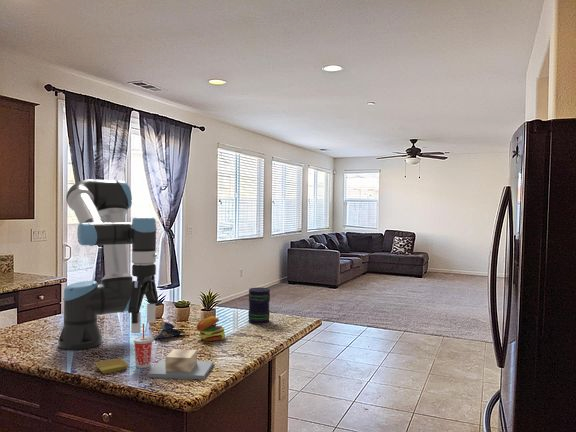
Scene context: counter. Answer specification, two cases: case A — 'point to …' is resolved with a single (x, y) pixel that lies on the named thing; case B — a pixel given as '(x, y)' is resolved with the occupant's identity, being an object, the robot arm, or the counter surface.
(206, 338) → the cheeseburger
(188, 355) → the block
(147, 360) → the beverage cup
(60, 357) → the counter surface
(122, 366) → the yellow square slab
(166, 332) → the dark grey crumpled piece
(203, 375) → the board
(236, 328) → the counter surface
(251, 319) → the storage jar
